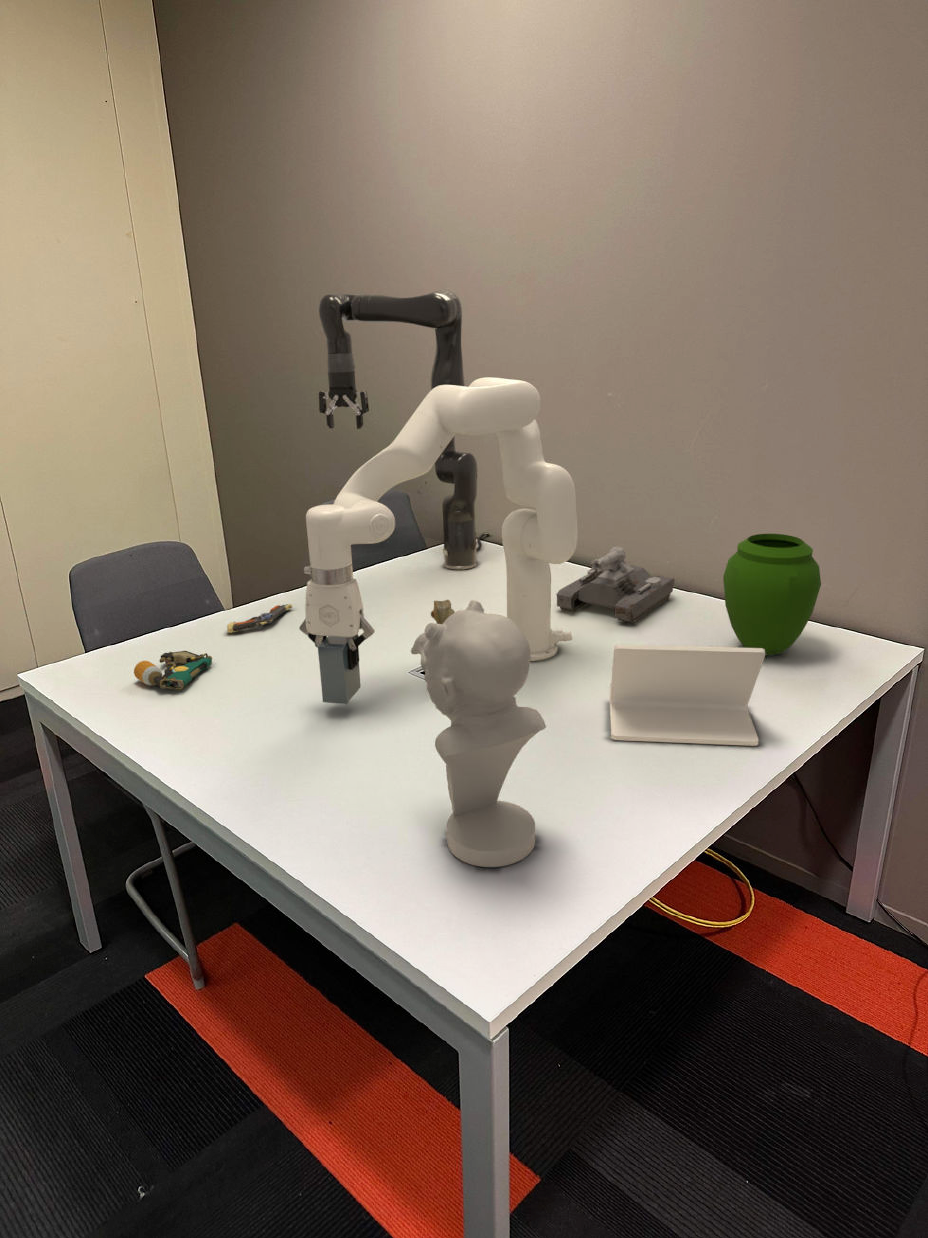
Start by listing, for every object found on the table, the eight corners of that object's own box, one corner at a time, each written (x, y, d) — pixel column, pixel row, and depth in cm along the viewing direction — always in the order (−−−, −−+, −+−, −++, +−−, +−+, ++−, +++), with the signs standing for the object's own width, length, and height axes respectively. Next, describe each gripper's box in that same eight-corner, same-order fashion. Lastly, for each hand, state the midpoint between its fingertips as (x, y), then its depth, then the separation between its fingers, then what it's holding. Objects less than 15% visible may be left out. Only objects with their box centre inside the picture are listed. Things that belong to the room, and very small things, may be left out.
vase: (820, 642, 188) (834, 534, 179) (800, 674, 173) (814, 558, 164) (732, 626, 198) (741, 524, 189) (705, 656, 183) (714, 546, 174)
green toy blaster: (177, 659, 191) (231, 671, 185) (120, 684, 176) (176, 698, 171) (176, 641, 190) (230, 653, 184) (118, 665, 175) (174, 678, 169)
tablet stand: (759, 746, 146) (769, 654, 140) (611, 740, 149) (614, 650, 143) (741, 699, 163) (749, 615, 157) (609, 695, 166) (611, 613, 160)
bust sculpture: (481, 772, 140) (476, 569, 128) (565, 848, 120) (569, 617, 108) (392, 800, 134) (378, 588, 121) (465, 886, 114) (457, 642, 101)
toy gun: (223, 625, 202) (262, 621, 199) (256, 603, 219) (292, 600, 217) (225, 635, 202) (264, 632, 200) (258, 613, 220) (294, 610, 218)
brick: (322, 702, 160) (317, 646, 156) (337, 685, 167) (333, 631, 163) (346, 704, 159) (342, 648, 155) (360, 687, 166) (356, 632, 162)
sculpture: (458, 662, 183) (456, 596, 178) (460, 676, 176) (457, 608, 171) (431, 663, 183) (428, 597, 177) (431, 677, 176) (428, 609, 171)
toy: (603, 584, 229) (605, 530, 224) (673, 597, 218) (677, 540, 213) (555, 612, 210) (556, 553, 205) (630, 627, 199) (633, 566, 194)
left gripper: (312, 371, 238) (317, 430, 244) (360, 370, 235) (364, 430, 241) (322, 368, 245) (327, 426, 251) (369, 368, 242) (373, 426, 248)
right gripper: (279, 577, 153) (289, 670, 160) (369, 582, 149) (375, 677, 156) (297, 565, 160) (306, 655, 166) (383, 570, 156) (388, 661, 162)
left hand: (345, 428), depth 246 cm, fingers open, 8 cm apart
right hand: (339, 665), depth 161 cm, fingers closed on brick, 4 cm apart
